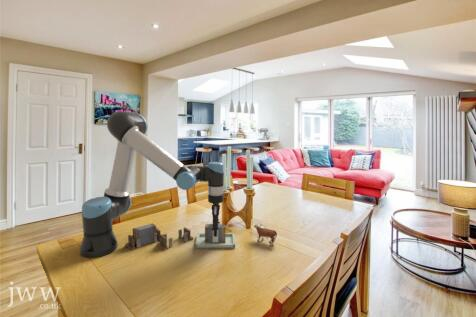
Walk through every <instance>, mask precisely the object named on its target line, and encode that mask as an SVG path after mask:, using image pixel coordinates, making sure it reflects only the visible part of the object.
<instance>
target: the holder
mask: <svg viewBox="0 0 476 317" xmlns="http://www.w3.org/2000/svg"><path fill="white" fill-rule="evenodd" d="M160 235H161V230H160V229H159V228H158V227H156V233H155V234H154V242H153V243H158V242H160ZM127 239H128V242H126V243H124V244H125V246H124V247H126V248H127V249H128V250H129V251H133V250H135V249H136V248H137V249H139V248H141V243H140V238H137V239H136V241H137V247H135V246H134V238H133V234H132V235H131V234H128V236H127Z"/></svg>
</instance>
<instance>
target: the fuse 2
mask: <svg viewBox="0 0 476 317" xmlns="http://www.w3.org/2000/svg"><path fill="white" fill-rule="evenodd" d="M204 226H205V227H204V233H205V243H225V237H226V233H227V231H226V228H227V227H226V223H220V224H218V242H213V230H211V228H213V223H205V224H204Z"/></svg>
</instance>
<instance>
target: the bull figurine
mask: <svg viewBox="0 0 476 317" xmlns="http://www.w3.org/2000/svg"><path fill="white" fill-rule="evenodd" d="M262 225H263V224H260V223H258V222H257V223H256V224H255V225H253V227H254V229H255V230H256V232H257V235H258V238H257V240H256V241H257V242H260V241H264V240H265V238H266V240H268V239H269V238H270V240H269V243H270V246H274V243H275V241H276V238H277V236H278V233H277V231H276V230H275V229H274V230H273V229H270V228H266V227H264V226H262Z"/></svg>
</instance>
